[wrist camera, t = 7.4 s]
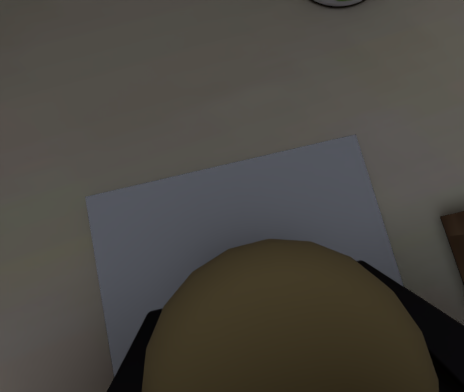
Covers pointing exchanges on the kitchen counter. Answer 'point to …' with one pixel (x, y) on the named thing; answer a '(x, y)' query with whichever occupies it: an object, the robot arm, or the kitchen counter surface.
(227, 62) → the kitchen counter surface
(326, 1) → the supplement bottle
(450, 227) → the walnut frame
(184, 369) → the cork
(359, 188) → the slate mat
